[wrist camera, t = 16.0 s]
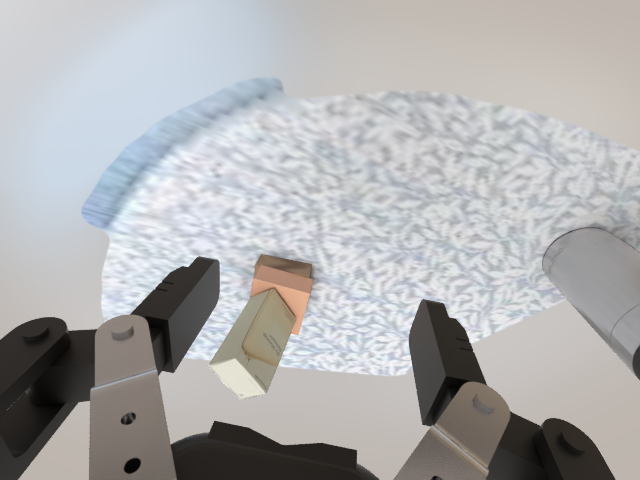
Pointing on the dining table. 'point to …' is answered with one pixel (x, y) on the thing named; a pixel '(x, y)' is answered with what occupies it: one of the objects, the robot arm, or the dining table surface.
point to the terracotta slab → (285, 290)
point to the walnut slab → (284, 265)
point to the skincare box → (254, 346)
